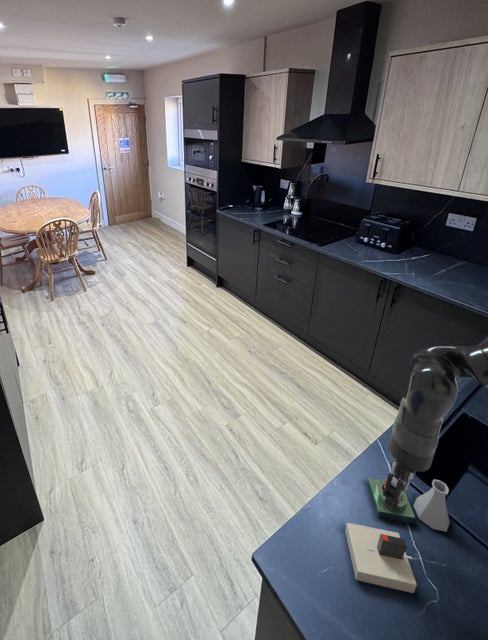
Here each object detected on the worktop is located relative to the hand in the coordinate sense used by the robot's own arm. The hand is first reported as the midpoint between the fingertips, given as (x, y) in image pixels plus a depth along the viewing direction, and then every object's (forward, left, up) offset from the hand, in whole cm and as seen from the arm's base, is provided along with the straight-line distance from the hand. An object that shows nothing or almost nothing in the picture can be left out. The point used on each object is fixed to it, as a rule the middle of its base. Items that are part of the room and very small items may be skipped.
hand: (398, 492), depth 72 cm
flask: (-12, -6, -13) cm, 18 cm away
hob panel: (+4, +6, -13) cm, 15 cm away
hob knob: (+2, +6, -10) cm, 12 cm away
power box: (-3, -7, -13) cm, 15 cm away
